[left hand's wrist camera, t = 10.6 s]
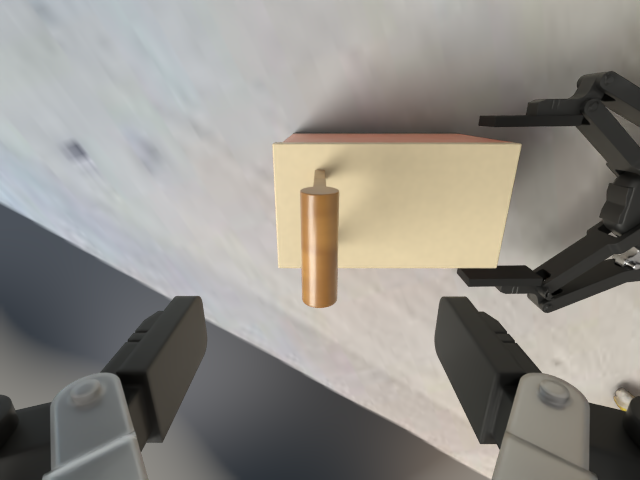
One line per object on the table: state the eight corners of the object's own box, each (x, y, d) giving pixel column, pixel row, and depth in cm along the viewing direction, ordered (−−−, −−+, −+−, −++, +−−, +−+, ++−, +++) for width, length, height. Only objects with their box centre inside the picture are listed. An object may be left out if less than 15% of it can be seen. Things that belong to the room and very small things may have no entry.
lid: (280, 262, 27) (260, 333, 18) (274, 142, 23) (247, 159, 15) (490, 262, 27) (570, 333, 18) (513, 142, 23) (625, 159, 15)
